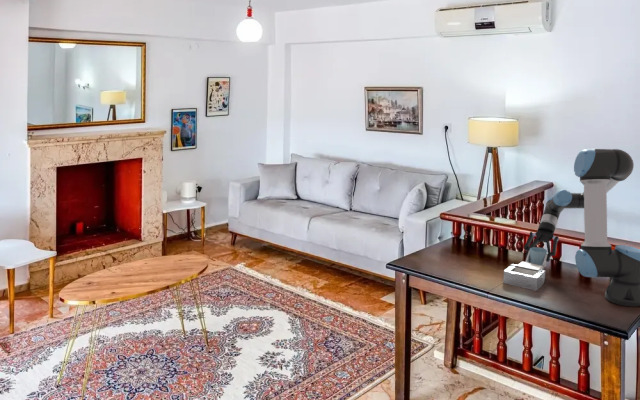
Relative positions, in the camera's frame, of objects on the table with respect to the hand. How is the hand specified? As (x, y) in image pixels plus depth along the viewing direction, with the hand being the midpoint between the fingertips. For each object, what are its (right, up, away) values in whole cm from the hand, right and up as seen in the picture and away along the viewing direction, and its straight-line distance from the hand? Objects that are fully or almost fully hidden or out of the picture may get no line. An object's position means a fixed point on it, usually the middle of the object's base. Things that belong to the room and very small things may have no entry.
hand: (535, 264), depth 267 cm
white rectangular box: (-9, -7, -11) cm, 16 cm away
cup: (+2, -3, +4) cm, 5 cm away
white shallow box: (-5, -5, -6) cm, 9 cm away
